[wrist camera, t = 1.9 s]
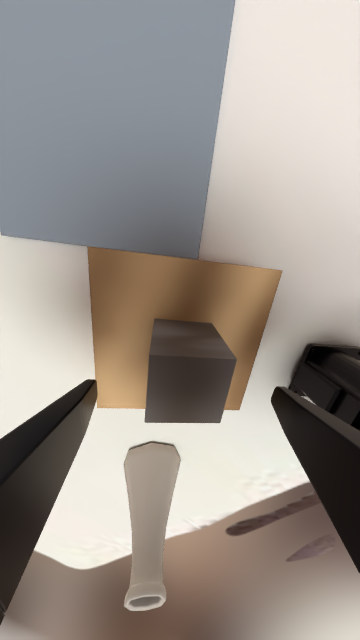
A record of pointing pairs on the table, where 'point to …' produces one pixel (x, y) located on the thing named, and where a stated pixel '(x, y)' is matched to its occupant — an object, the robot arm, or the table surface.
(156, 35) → the slate mat
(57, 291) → the table surface
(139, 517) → the flask
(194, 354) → the wooden lid
